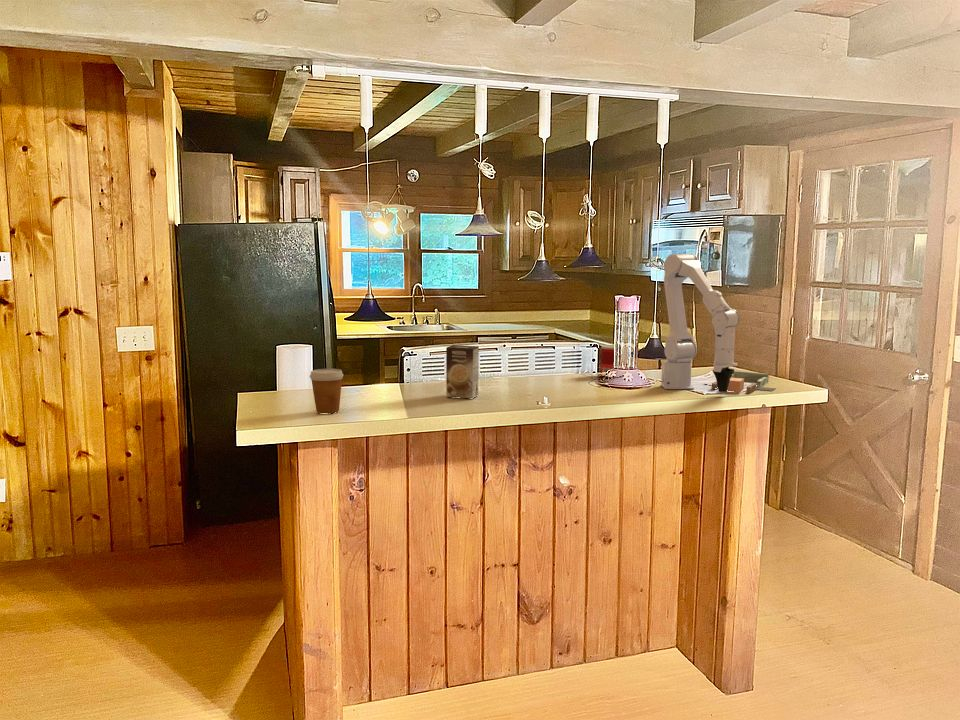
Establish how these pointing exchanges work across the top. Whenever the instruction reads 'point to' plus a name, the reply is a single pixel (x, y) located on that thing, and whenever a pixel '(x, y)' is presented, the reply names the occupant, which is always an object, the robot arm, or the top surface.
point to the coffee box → (462, 371)
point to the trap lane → (749, 379)
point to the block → (736, 384)
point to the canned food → (607, 357)
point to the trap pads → (765, 389)
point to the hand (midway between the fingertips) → (722, 391)
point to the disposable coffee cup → (327, 389)
